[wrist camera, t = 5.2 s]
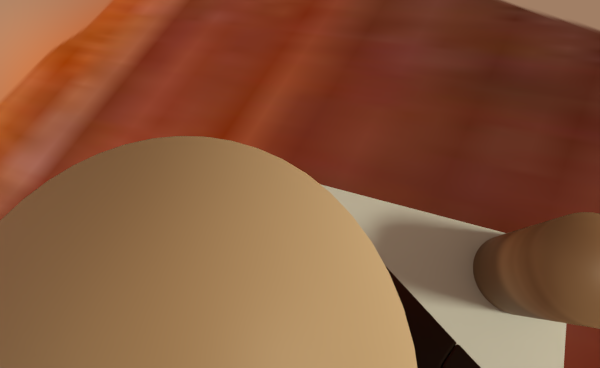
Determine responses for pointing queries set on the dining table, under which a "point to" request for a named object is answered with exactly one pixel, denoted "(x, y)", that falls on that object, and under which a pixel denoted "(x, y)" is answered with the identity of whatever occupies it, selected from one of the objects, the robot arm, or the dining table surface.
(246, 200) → the tall beech peg
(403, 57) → the dining table surface
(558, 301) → the short walnut peg
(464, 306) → the hole board
